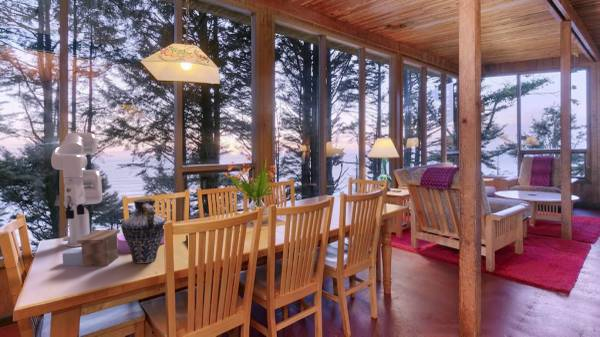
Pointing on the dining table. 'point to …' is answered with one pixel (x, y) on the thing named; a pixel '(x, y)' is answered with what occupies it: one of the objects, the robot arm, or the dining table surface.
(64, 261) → the block
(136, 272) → the dining table surface
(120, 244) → the pink rectangular box
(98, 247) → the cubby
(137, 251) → the jug
